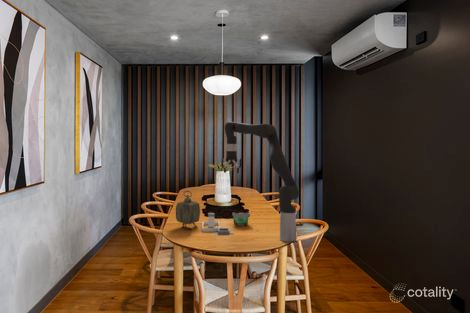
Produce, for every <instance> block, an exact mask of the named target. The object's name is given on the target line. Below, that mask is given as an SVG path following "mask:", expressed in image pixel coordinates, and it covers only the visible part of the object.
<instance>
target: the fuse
mask: <svg viewBox="0 0 470 313" xmlns="http://www.w3.org/2000/svg"><path fill="white" fill-rule="evenodd" d="M207 219H208V220H207V222H208V225H207V228H215V225H214V221H215V213H214V212H208V213H207Z"/></svg>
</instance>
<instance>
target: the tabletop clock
mask: <svg viewBox="0 0 470 313" xmlns="http://www.w3.org/2000/svg"><path fill="white" fill-rule="evenodd" d="M185 193H190V195H189V194H188V195H186V194H185ZM183 196H184V197H185V198H184V199H183V201H182V200H181V201H180V202H179V201H178V202H177V204H176V206H175V219H176V221H177V222H178V223H181V224H182V226H183V228H184V229H187V225H191V224H193V225H194V227H195V228H197V227H198V226H197V225H196V224H195V223H197V222H199V221H200V216H201V206H200V203H199V202H197V201H194V200H192V198H191V197H192V196H193V193H192V192H191V191H189V190H185V191H184V192H183Z"/></svg>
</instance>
